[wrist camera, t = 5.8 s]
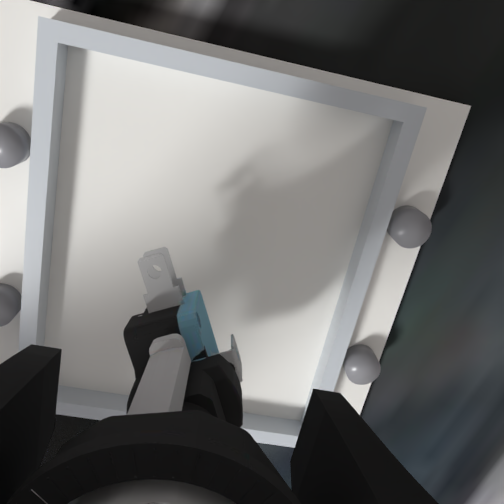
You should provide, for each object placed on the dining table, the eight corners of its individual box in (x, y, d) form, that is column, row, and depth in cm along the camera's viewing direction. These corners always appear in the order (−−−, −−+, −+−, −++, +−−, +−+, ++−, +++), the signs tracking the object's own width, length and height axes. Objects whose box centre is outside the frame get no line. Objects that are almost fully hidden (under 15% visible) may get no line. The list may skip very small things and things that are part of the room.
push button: (80, 267, 15) (-184, 462, 6) (239, 223, 15) (257, 343, 6) (143, 445, 17) (19, 856, 7) (290, 406, 17) (375, 762, 7)
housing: (-18, 385, 20) (-36, 409, 19) (-6, -8, 15) (-30, -16, 14) (346, 438, 22) (353, 463, 21) (464, 104, 17) (485, 108, 16)
